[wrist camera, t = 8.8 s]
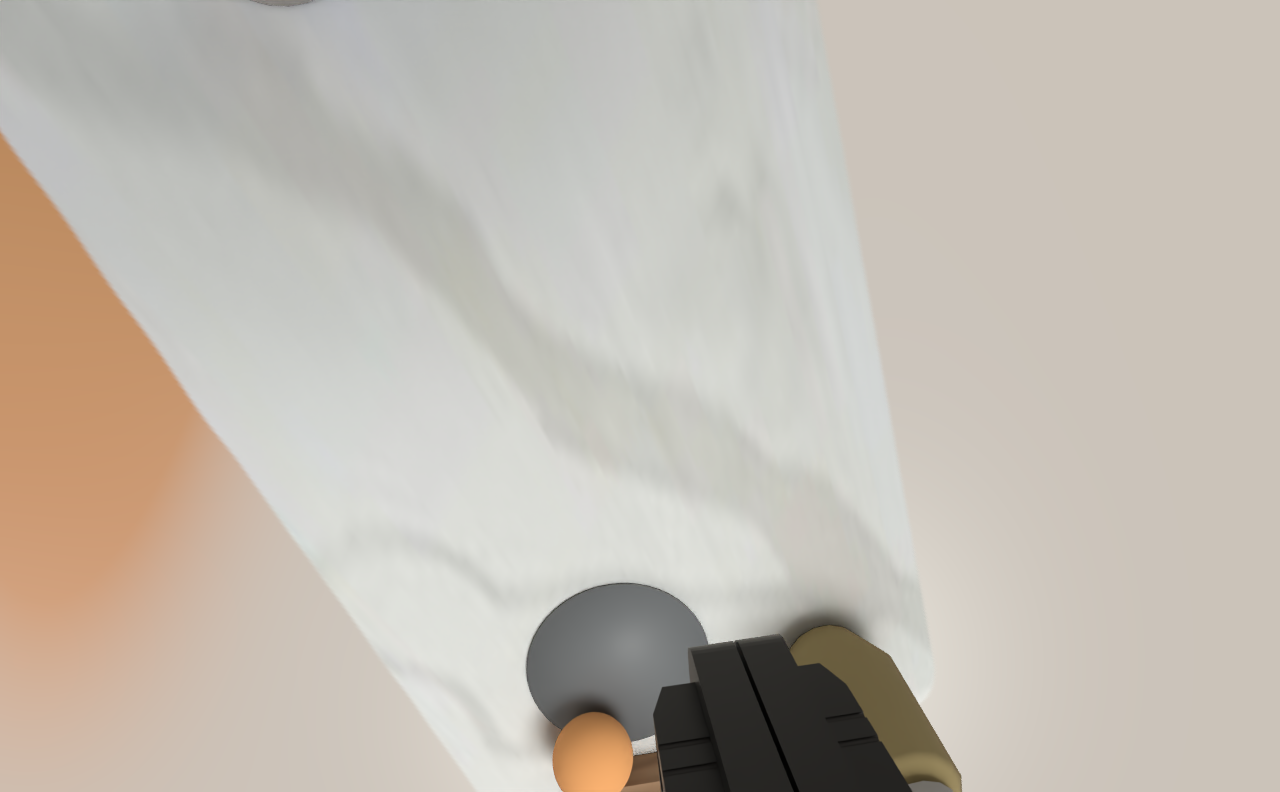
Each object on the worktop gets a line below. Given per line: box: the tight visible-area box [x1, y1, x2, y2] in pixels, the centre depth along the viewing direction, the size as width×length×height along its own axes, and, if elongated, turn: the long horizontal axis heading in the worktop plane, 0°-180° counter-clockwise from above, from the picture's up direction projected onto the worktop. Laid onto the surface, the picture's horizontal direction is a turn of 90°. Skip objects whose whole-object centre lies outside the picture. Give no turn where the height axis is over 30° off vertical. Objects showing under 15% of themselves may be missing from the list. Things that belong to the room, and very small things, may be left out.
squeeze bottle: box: [790, 625, 962, 792], centre depth 36 cm, size 8×8×18 cm
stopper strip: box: [621, 752, 661, 792], centre depth 44 cm, size 2×8×2 cm, turn 95°
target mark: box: [527, 583, 708, 742], centre depth 43 cm, size 13×13×1 cm
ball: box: [553, 712, 633, 792], centre depth 41 cm, size 6×6×6 cm
